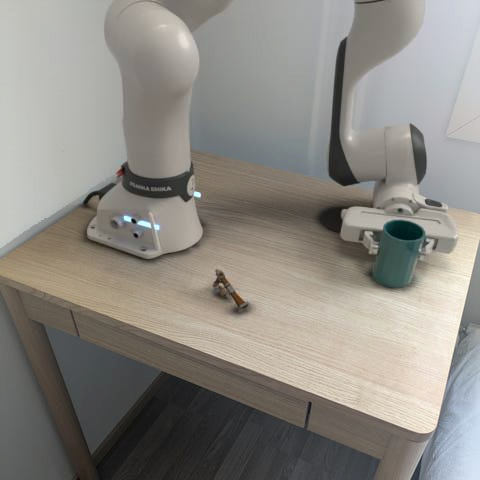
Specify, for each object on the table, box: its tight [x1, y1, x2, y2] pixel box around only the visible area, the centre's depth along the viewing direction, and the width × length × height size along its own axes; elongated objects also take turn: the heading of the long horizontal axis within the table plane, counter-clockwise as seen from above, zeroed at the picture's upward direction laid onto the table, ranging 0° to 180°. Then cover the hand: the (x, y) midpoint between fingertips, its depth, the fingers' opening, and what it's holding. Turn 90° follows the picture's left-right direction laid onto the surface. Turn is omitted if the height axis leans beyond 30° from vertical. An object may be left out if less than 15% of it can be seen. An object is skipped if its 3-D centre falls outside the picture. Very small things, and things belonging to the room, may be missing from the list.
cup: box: [371, 220, 425, 289], centre depth 85 cm, size 7×7×10 cm
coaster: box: [320, 206, 350, 234], centre depth 102 cm, size 10×10×1 cm
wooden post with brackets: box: [212, 268, 250, 313], centre depth 81 cm, size 2×8×4 cm, turn 40°
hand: (398, 254), depth 84 cm, fingers closed on cup, 7 cm apart
